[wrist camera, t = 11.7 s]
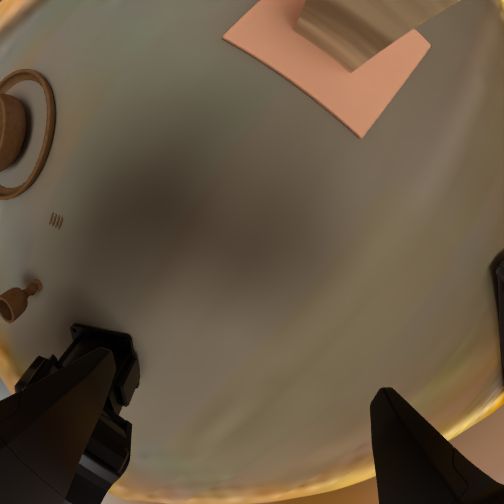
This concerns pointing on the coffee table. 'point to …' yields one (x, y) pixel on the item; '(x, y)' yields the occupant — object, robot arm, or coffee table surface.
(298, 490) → the coffee table surface
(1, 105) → the place setting
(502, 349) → the black flat curved piece
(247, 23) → the terracotta mat
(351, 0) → the birch block
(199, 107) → the coffee table surface
